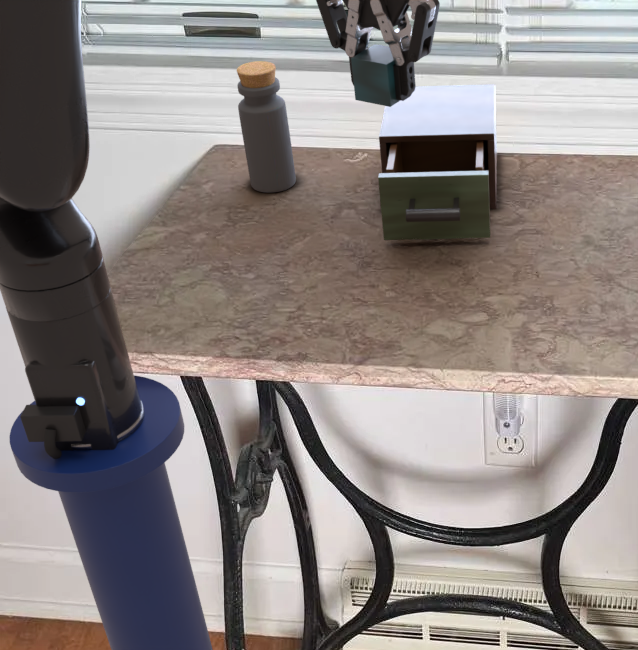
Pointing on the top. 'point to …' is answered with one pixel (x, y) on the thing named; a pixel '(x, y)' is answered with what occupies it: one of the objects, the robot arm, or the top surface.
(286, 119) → the bottle
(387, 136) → the cabinet
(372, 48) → the block
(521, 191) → the top surface
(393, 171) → the drawer
